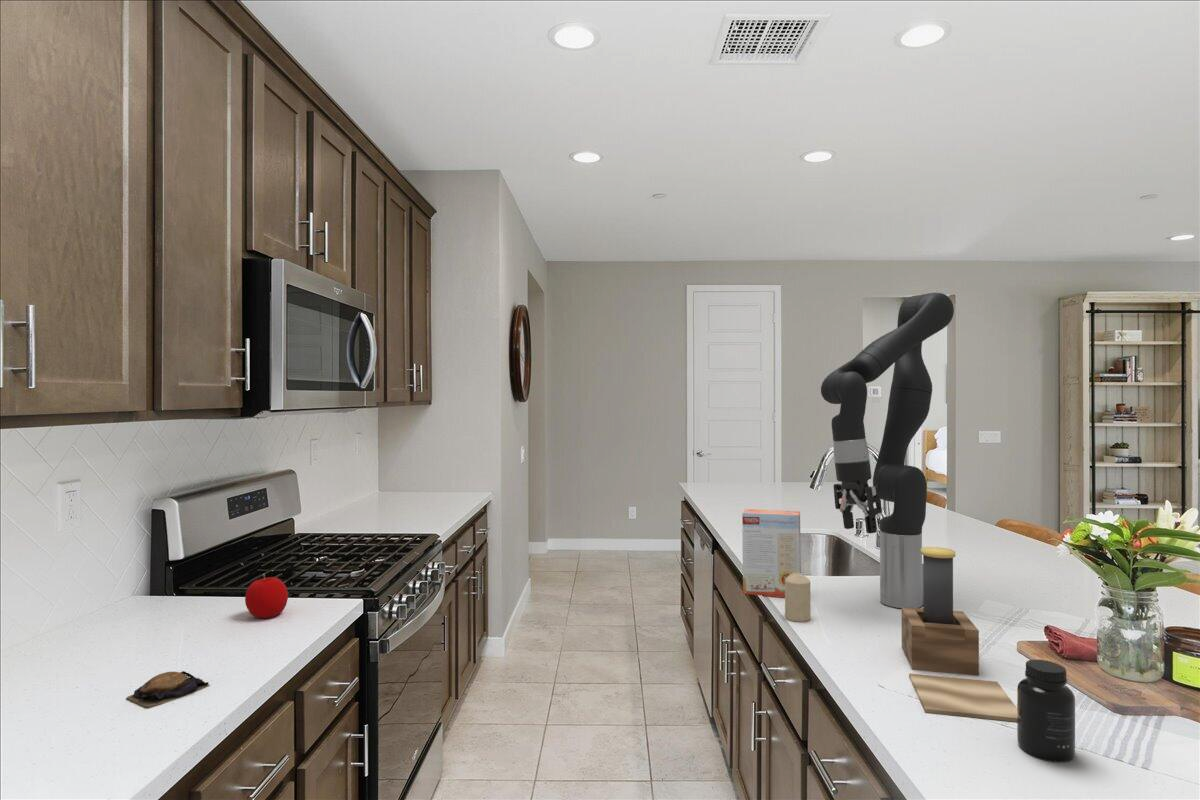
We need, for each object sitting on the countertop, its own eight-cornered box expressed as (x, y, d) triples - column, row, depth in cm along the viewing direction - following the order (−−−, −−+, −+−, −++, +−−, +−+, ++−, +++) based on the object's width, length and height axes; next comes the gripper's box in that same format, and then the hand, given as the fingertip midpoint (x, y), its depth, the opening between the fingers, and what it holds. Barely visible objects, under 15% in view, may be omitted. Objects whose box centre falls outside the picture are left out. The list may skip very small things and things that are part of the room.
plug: (937, 622, 131) (937, 545, 131) (962, 631, 126) (962, 552, 126) (914, 625, 129) (913, 548, 129) (938, 635, 124) (938, 554, 124)
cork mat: (908, 676, 120) (908, 673, 120) (997, 685, 117) (997, 681, 117) (925, 712, 107) (925, 708, 107) (1025, 722, 103) (1025, 719, 103)
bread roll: (147, 713, 109) (147, 691, 109) (122, 701, 114) (122, 679, 114) (214, 689, 118) (214, 668, 118) (189, 678, 123) (188, 658, 123)
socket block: (901, 647, 134) (901, 607, 134) (962, 652, 132) (962, 611, 132) (911, 669, 124) (911, 625, 124) (978, 675, 121) (978, 630, 121)
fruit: (238, 616, 156) (238, 572, 156) (279, 607, 163) (278, 565, 163) (254, 625, 150) (253, 580, 150) (295, 615, 157) (295, 572, 156)
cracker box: (801, 593, 172) (801, 510, 172) (800, 599, 166) (800, 514, 166) (745, 588, 177) (745, 507, 176) (742, 594, 171) (742, 511, 171)
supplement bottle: (1006, 739, 99) (1005, 656, 98) (1050, 737, 99) (1050, 655, 99) (1040, 765, 92) (1040, 676, 92) (1087, 762, 92) (1087, 674, 92)
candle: (811, 623, 149) (811, 577, 149) (785, 621, 150) (785, 576, 150) (809, 615, 155) (809, 571, 155) (784, 613, 156) (784, 570, 156)
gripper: (885, 458, 149) (894, 532, 148) (848, 457, 163) (856, 524, 162) (855, 462, 147) (864, 537, 147) (820, 460, 161) (828, 529, 160)
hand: (860, 530), depth 154 cm, fingers open, 8 cm apart
